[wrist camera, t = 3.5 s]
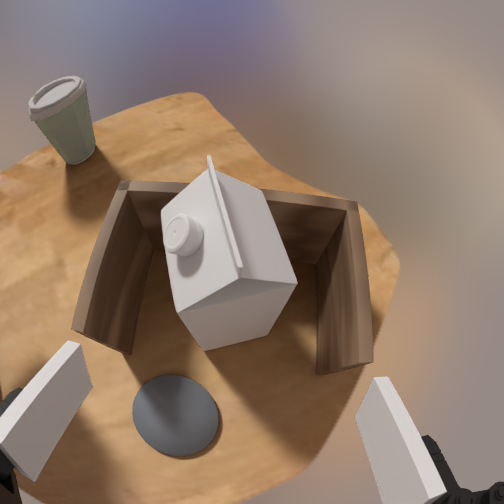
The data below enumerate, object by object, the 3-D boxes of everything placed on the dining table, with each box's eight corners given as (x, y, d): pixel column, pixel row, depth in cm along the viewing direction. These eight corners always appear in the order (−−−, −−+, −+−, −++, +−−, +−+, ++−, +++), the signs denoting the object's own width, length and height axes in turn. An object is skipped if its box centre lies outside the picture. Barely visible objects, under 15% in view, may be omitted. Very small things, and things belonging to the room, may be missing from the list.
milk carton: (249, 277, 32) (268, 146, 16) (267, 335, 29) (317, 249, 12) (188, 291, 31) (146, 168, 14) (203, 352, 28) (157, 286, 11)
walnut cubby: (121, 352, 27) (71, 329, 17) (146, 239, 34) (120, 180, 24) (326, 374, 27) (373, 362, 18) (324, 256, 34) (357, 201, 24)
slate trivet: (131, 444, 22) (129, 445, 21) (139, 368, 26) (137, 367, 26) (215, 460, 22) (215, 462, 21) (222, 381, 26) (221, 381, 26)
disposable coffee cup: (113, 132, 44) (94, 65, 31) (94, 173, 39) (63, 99, 26) (69, 139, 43) (45, 80, 30) (47, 179, 38) (13, 115, 25)
